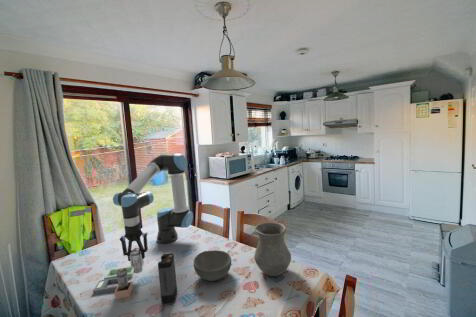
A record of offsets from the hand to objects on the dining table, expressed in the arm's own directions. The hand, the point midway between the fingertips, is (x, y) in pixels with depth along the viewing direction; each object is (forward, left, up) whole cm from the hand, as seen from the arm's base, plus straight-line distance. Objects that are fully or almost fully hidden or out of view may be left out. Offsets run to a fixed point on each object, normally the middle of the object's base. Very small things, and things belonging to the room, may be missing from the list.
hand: (137, 265), depth 120 cm
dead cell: (+5, +10, -8) cm, 14 cm away
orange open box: (+5, +10, -9) cm, 14 cm away
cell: (0, 0, -3) cm, 3 cm away
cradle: (+14, +2, -9) cm, 17 cm away
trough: (+11, -7, -9) cm, 16 cm away
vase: (-72, +14, -9) cm, 74 cm away
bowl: (-40, +8, -9) cm, 41 cm away
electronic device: (-18, +19, -9) cm, 27 cm away
